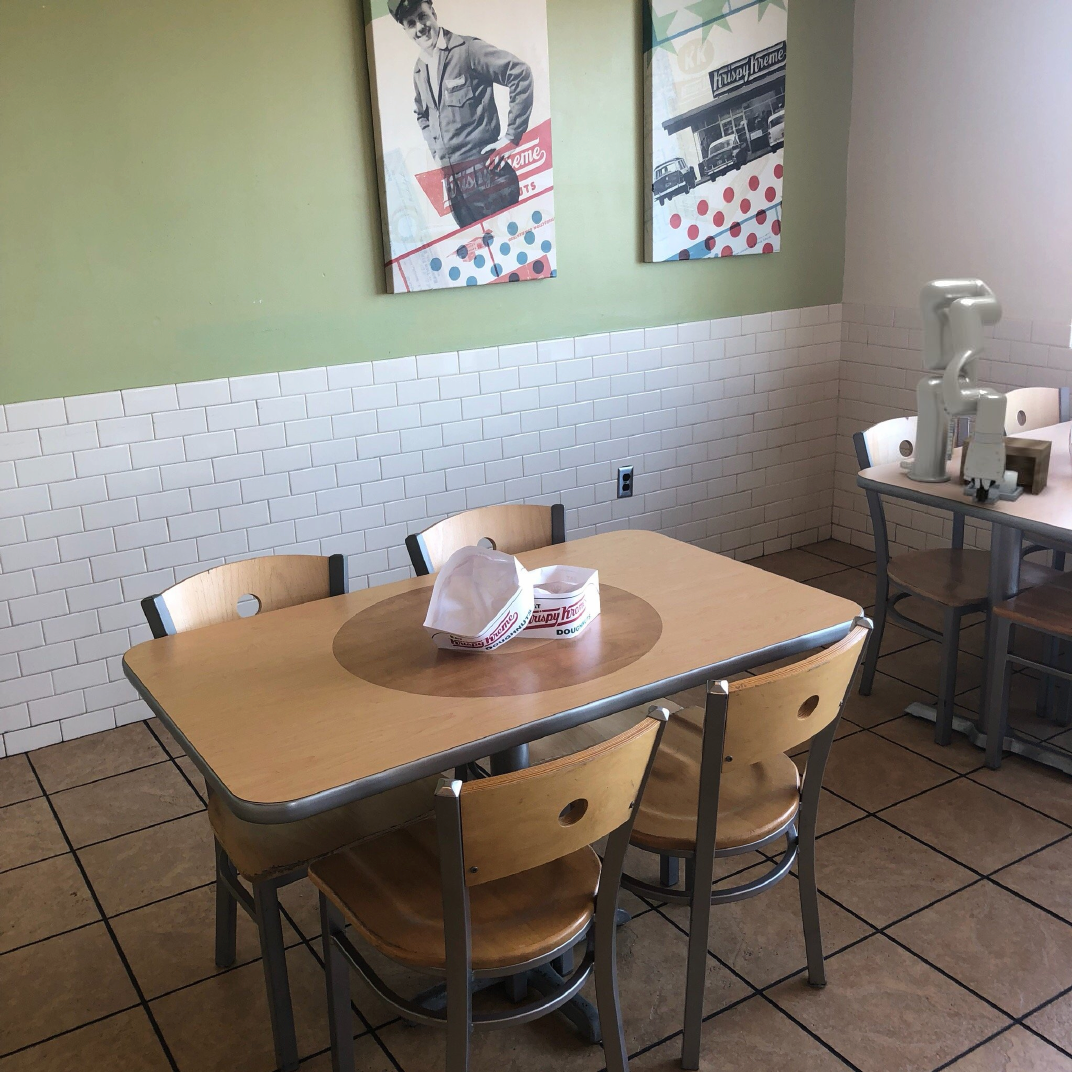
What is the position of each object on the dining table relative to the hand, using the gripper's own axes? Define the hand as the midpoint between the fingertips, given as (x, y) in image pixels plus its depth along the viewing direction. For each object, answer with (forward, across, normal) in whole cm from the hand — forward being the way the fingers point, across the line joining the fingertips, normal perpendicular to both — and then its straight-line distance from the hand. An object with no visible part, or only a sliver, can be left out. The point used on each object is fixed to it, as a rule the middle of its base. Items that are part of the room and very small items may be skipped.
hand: (981, 501), depth 298 cm
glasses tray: (+1, 0, +10) cm, 10 cm away
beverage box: (+1, -26, +52) cm, 58 cm away
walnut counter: (+1, 0, +24) cm, 24 cm away
